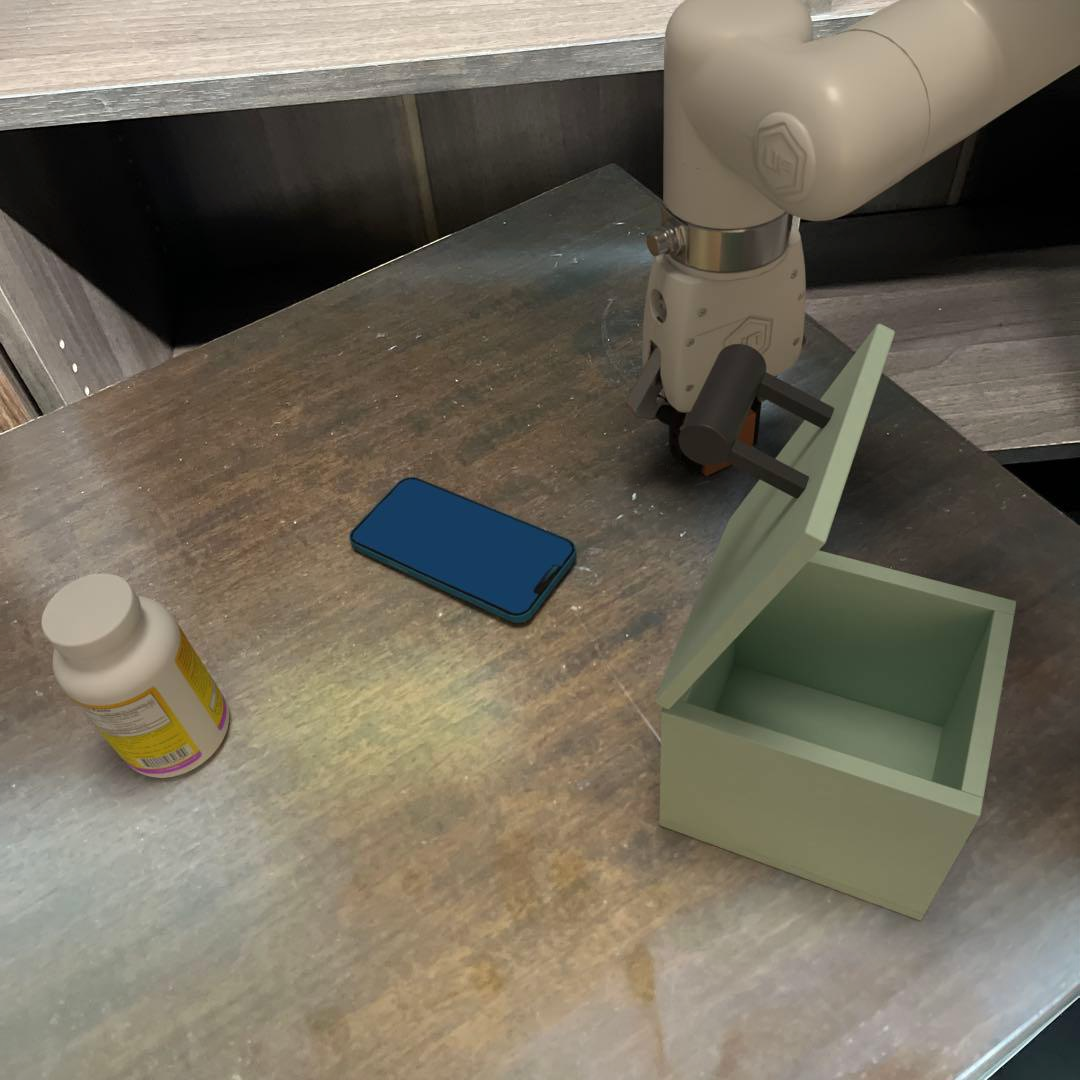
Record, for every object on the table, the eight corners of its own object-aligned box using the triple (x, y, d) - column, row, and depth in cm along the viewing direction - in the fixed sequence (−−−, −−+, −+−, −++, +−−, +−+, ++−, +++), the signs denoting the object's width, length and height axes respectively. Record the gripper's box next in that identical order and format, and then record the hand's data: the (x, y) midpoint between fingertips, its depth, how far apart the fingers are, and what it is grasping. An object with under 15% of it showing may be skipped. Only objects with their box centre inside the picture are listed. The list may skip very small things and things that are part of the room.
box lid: (896, 330, 39) (767, 263, 40) (826, 543, 33) (670, 460, 33) (742, 526, 51) (644, 473, 52) (668, 710, 45) (555, 649, 45)
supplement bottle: (179, 670, 63) (94, 540, 54) (254, 714, 61) (179, 585, 51) (100, 752, 60) (-6, 628, 50) (176, 802, 57) (80, 681, 48)
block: (752, 455, 71) (756, 413, 68) (706, 476, 70) (708, 435, 67) (720, 423, 74) (722, 382, 71) (675, 444, 73) (675, 403, 70)
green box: (958, 727, 56) (1016, 600, 47) (920, 921, 49) (980, 816, 41) (722, 656, 61) (735, 528, 52) (658, 825, 54) (660, 711, 45)
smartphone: (406, 472, 72) (582, 543, 66) (409, 481, 73) (583, 553, 67) (342, 539, 69) (522, 622, 62) (345, 548, 69) (523, 631, 63)
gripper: (639, 303, 54) (643, 527, 68) (882, 205, 58) (839, 434, 72) (572, 241, 59) (588, 462, 72) (801, 154, 63) (775, 379, 77)
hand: (713, 446), depth 72 cm, fingers closed on block, 4 cm apart
